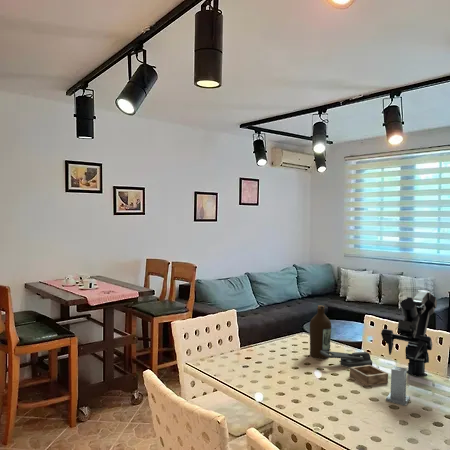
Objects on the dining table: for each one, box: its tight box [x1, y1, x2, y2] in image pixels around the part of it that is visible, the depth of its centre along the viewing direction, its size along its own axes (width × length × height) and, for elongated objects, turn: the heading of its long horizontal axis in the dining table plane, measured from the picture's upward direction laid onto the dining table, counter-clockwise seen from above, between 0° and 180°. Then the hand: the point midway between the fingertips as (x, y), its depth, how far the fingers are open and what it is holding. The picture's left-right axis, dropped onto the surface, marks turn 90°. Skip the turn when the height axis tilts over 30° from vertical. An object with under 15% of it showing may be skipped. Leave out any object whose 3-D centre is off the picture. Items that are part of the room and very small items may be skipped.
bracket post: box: [385, 365, 411, 406], centre depth 160 cm, size 7×7×12 cm
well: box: [349, 364, 389, 386], centre depth 180 cm, size 11×11×4 cm
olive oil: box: [309, 304, 332, 360], centre depth 210 cm, size 11×11×25 cm
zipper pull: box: [320, 350, 373, 369], centre depth 198 cm, size 9×7×25 cm
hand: (401, 356), depth 167 cm, fingers open, 9 cm apart
